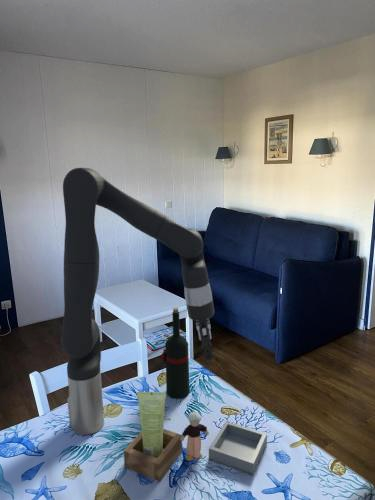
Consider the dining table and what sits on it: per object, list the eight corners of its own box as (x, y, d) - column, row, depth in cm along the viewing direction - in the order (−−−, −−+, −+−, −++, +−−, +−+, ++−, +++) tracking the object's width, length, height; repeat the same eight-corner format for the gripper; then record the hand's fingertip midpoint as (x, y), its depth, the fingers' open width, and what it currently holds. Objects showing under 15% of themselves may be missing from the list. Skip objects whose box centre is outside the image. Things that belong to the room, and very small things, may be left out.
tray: (208, 459, 98) (208, 448, 98) (225, 431, 109) (225, 421, 108) (253, 475, 93) (253, 463, 92) (266, 444, 103) (267, 433, 103)
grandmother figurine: (185, 465, 96) (184, 421, 94) (179, 455, 100) (178, 413, 97) (211, 455, 100) (211, 412, 97) (204, 445, 103) (203, 404, 101)
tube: (157, 448, 103) (154, 383, 99) (168, 458, 99) (166, 391, 95) (139, 458, 99) (136, 391, 95) (150, 469, 95) (147, 400, 91)
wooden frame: (124, 467, 96) (123, 450, 95) (149, 439, 106) (148, 423, 105) (159, 482, 92) (159, 464, 90) (182, 451, 102) (181, 434, 100)
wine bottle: (161, 385, 133) (157, 304, 126) (189, 385, 132) (188, 304, 126) (158, 399, 125) (155, 313, 119) (189, 399, 125) (187, 313, 118)
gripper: (185, 293, 113) (193, 343, 116) (186, 311, 99) (196, 366, 102) (210, 289, 113) (218, 339, 116) (214, 306, 99) (223, 362, 102)
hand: (207, 352), depth 109 cm, fingers open, 8 cm apart
